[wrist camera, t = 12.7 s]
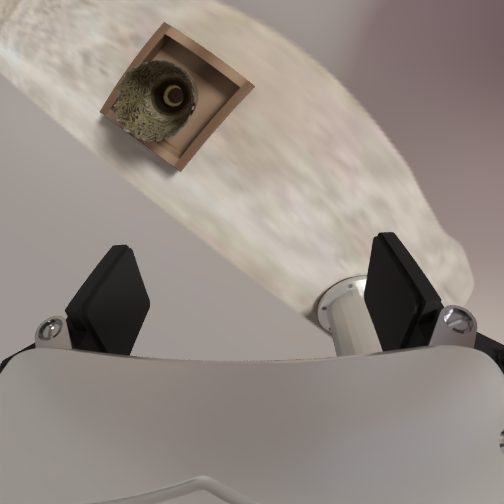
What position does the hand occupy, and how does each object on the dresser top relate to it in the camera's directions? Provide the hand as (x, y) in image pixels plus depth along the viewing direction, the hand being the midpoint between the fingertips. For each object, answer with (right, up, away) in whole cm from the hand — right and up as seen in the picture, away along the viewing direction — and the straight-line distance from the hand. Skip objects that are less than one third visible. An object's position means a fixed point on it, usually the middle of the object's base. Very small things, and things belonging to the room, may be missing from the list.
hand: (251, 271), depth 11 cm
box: (-8, +18, +16) cm, 26 cm away
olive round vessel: (-8, +18, +16) cm, 26 cm away
